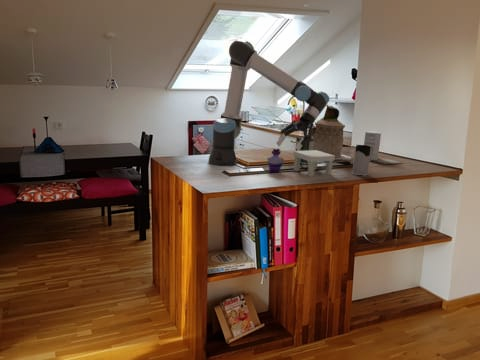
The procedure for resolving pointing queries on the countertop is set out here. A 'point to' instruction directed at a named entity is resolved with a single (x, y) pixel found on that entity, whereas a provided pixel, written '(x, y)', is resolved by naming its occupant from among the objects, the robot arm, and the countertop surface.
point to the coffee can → (305, 147)
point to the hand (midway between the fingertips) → (287, 146)
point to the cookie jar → (329, 134)
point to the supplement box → (373, 142)
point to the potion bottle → (275, 161)
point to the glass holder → (362, 159)
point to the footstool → (313, 160)
